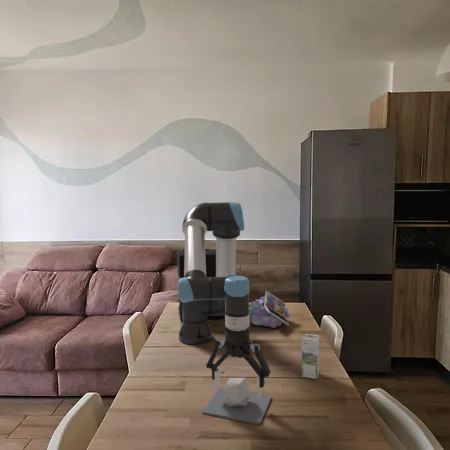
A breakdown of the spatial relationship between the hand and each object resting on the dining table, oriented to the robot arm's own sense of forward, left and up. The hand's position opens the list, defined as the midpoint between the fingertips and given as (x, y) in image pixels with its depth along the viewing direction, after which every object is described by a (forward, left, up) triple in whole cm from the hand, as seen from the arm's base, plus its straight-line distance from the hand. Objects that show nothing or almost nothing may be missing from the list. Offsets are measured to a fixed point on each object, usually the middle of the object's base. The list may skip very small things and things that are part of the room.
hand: (237, 393), depth 121 cm
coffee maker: (-43, +79, -4) cm, 90 cm away
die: (0, 0, -4) cm, 4 cm away
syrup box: (+19, +27, -4) cm, 33 cm away
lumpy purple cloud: (-7, +76, -4) cm, 76 cm away
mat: (0, 0, -4) cm, 4 cm away
